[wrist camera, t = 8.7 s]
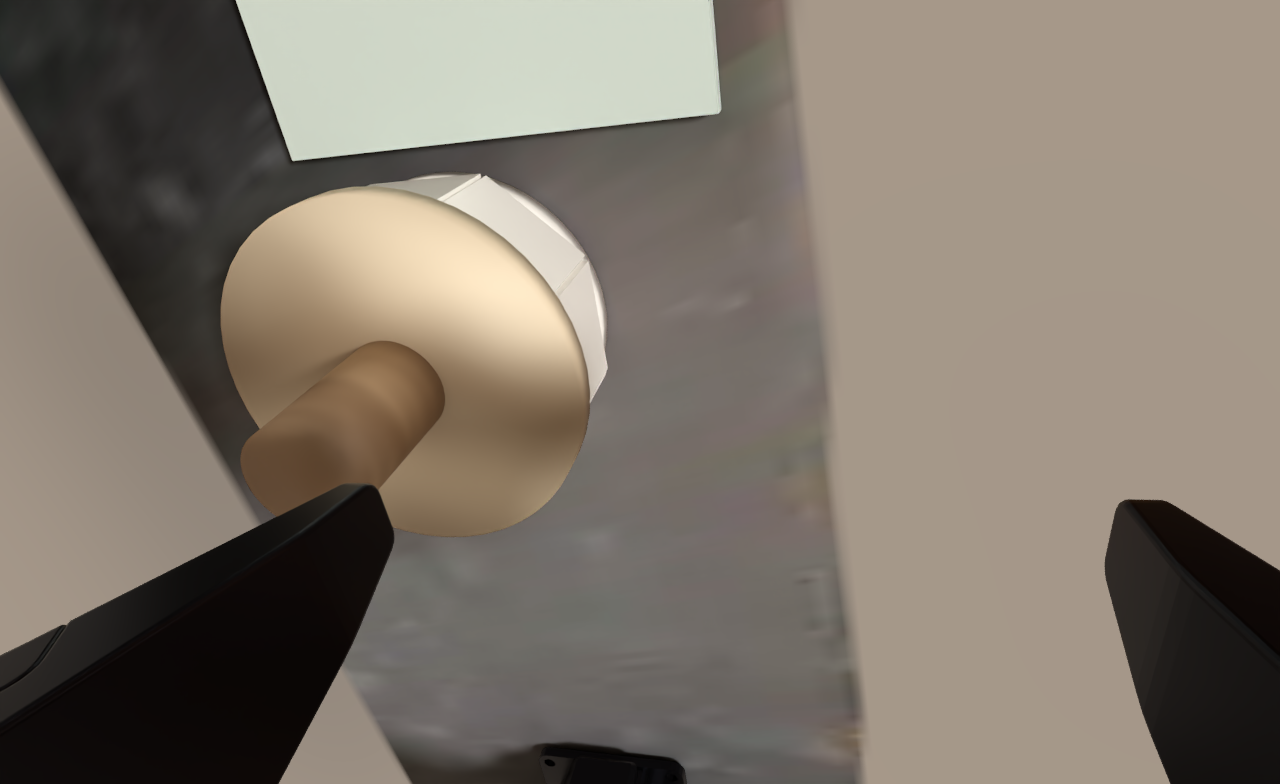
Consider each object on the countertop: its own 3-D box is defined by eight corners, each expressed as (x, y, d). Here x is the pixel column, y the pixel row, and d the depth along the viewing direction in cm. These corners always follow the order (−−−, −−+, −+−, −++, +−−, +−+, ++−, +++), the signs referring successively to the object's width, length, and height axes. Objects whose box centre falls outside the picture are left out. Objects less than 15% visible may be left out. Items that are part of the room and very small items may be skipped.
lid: (616, 524, 20) (563, 666, 16) (316, 513, 22) (203, 633, 18) (550, 168, 15) (451, 239, 11) (182, 202, 18) (-7, 270, 14)
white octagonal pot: (626, 427, 23) (592, 506, 20) (393, 428, 25) (327, 499, 22) (580, 157, 19) (528, 198, 16) (309, 184, 21) (212, 225, 18)
